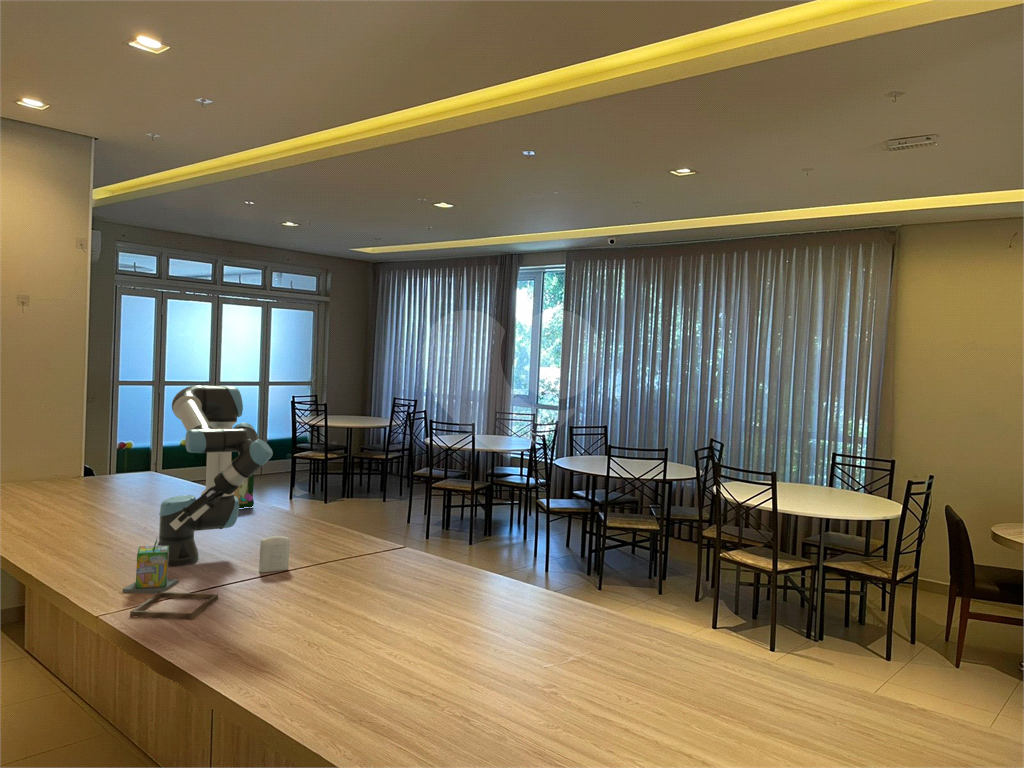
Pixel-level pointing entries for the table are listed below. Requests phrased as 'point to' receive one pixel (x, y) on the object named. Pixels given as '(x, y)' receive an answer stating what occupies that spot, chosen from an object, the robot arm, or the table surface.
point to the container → (245, 492)
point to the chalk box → (152, 566)
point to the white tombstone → (274, 554)
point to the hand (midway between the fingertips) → (182, 522)
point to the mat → (150, 590)
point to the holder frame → (174, 615)
